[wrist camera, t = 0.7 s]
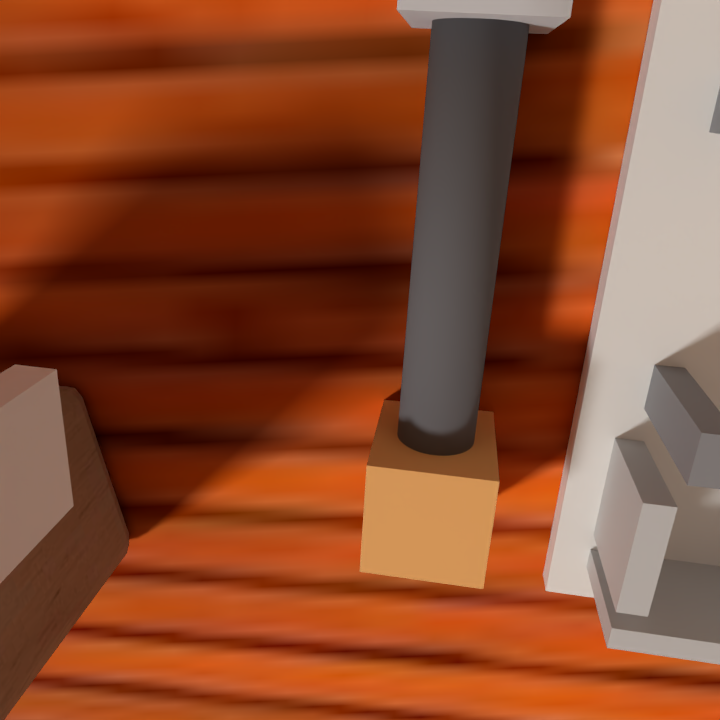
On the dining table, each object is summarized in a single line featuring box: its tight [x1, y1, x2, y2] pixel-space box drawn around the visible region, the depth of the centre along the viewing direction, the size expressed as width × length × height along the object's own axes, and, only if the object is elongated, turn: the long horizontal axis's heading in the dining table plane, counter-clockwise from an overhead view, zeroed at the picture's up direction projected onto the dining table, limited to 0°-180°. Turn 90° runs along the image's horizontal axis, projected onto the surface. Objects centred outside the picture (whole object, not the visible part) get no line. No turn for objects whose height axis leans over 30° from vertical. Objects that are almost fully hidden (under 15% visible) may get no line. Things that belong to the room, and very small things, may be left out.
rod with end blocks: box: [360, 0, 573, 589], centre depth 25 cm, size 24×5×6 cm, turn 177°
